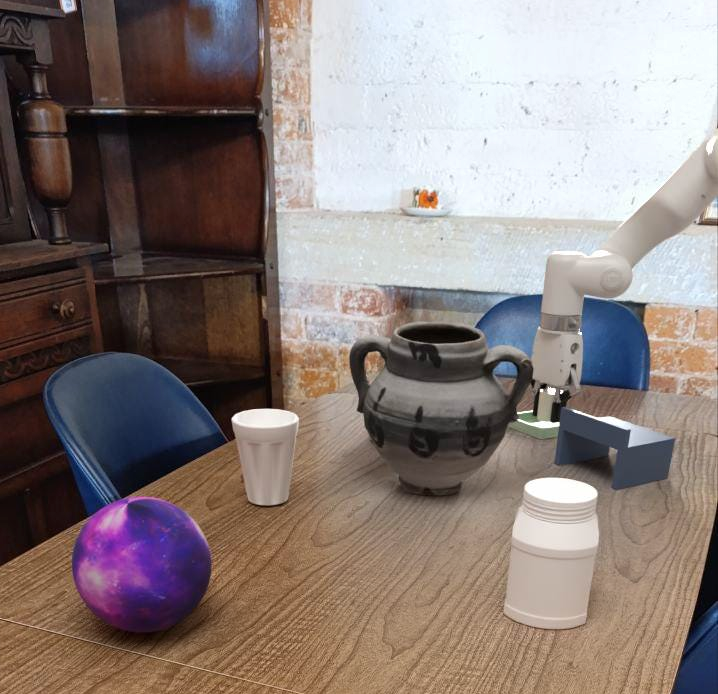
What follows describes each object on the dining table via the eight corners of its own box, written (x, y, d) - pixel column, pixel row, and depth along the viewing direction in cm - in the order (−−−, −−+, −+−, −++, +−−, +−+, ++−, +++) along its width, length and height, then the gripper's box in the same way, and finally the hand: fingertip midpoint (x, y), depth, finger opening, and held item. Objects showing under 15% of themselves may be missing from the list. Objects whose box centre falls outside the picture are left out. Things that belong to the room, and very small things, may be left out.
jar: (508, 581, 112) (521, 469, 105) (585, 590, 110) (603, 477, 103) (501, 624, 102) (514, 503, 95) (585, 634, 100) (605, 512, 93)
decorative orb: (62, 614, 102) (43, 493, 95) (181, 583, 110) (171, 469, 103) (110, 672, 91) (92, 540, 84) (238, 633, 99) (231, 509, 92)
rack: (603, 453, 160) (612, 399, 155) (667, 478, 148) (679, 420, 144) (554, 463, 154) (561, 407, 149) (616, 490, 143) (626, 430, 138)
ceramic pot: (530, 475, 148) (548, 322, 136) (506, 524, 129) (525, 351, 117) (369, 455, 156) (372, 309, 144) (324, 498, 137) (323, 334, 125)
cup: (300, 512, 132) (299, 427, 126) (233, 512, 131) (229, 427, 125) (300, 488, 141) (298, 408, 134) (237, 489, 140) (233, 408, 134)
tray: (553, 416, 181) (554, 406, 180) (591, 430, 173) (593, 420, 172) (503, 424, 175) (504, 415, 174) (540, 439, 166) (542, 429, 166)
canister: (548, 414, 176) (552, 387, 173) (563, 420, 172) (567, 392, 170) (532, 417, 174) (535, 389, 171) (547, 423, 170) (550, 394, 168)
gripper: (607, 329, 160) (592, 427, 168) (544, 314, 172) (534, 406, 181) (576, 332, 156) (563, 432, 165) (515, 317, 169) (505, 410, 177)
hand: (548, 417), depth 173 cm, fingers closed on canister, 4 cm apart
